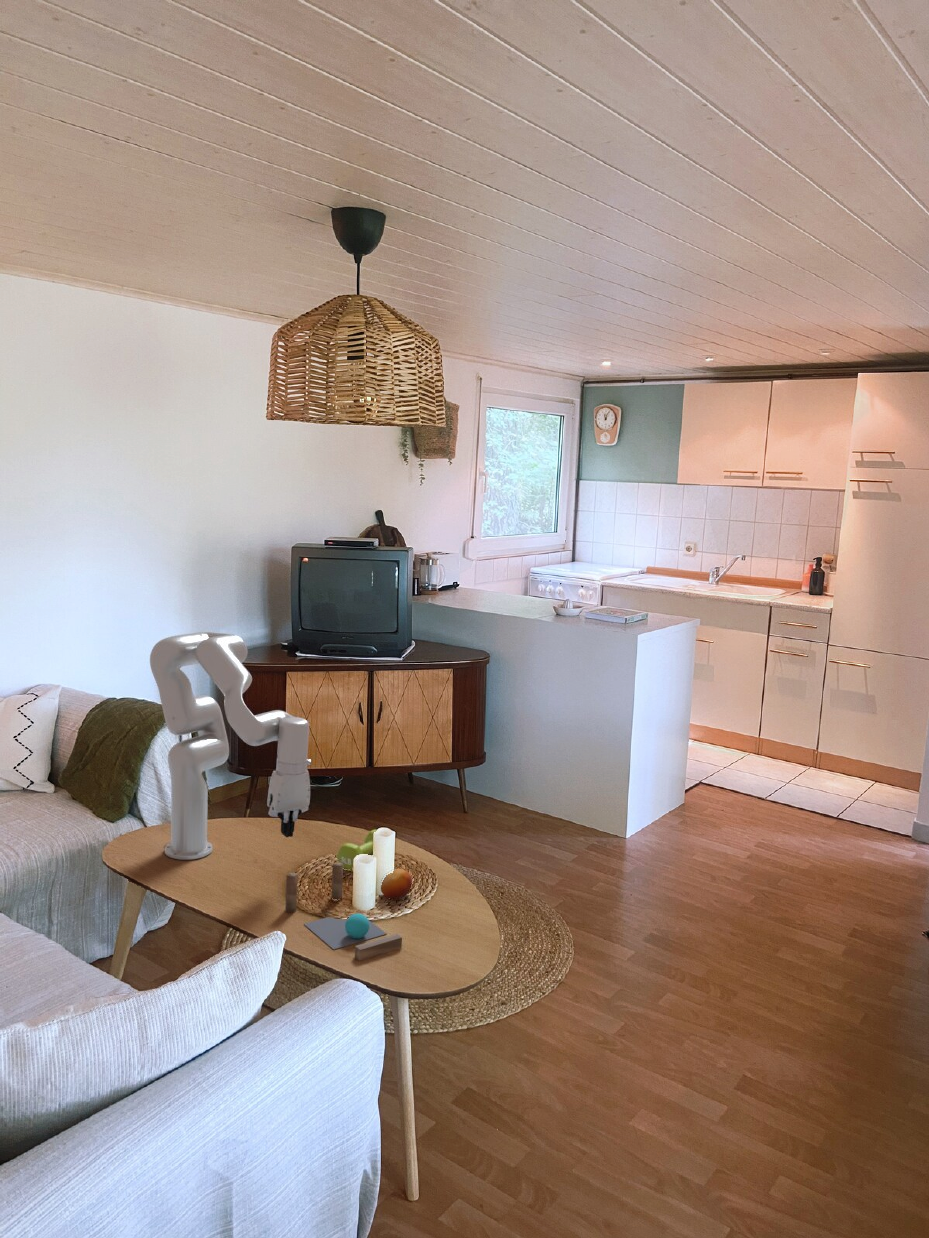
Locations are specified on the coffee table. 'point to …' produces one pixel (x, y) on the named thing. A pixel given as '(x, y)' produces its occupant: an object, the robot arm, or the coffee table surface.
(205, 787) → the robot arm
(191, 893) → the coffee table surface
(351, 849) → the dumbbell
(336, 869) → the post
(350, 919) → the ball
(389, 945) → the strip
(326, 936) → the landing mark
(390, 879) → the fruit
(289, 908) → the post
